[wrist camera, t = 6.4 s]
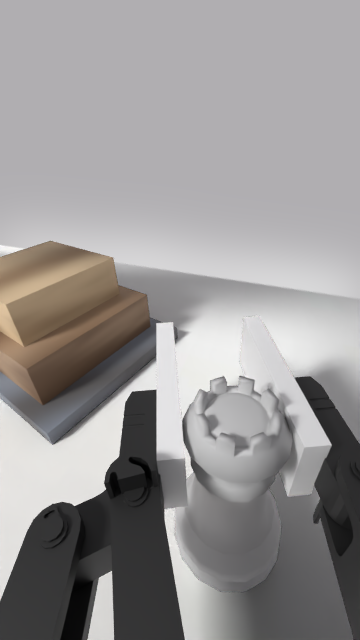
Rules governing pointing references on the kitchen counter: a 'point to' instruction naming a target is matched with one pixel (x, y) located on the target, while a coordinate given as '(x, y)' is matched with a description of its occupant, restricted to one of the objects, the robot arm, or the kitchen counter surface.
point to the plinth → (67, 334)
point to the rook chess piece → (232, 485)
